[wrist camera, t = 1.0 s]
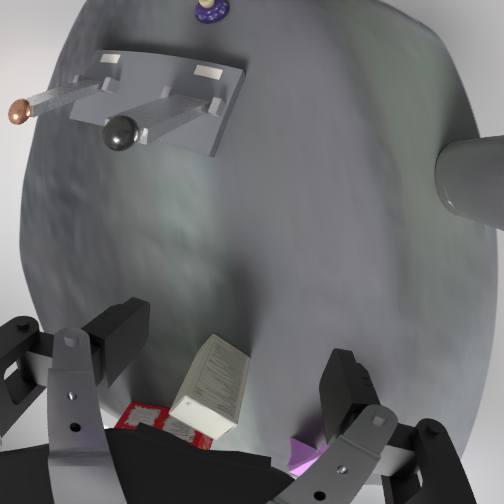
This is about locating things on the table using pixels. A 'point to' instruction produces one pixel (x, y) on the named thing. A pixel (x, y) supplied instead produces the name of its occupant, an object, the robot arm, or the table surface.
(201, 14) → the toy lamp
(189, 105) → the black knob lever
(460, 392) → the table surface
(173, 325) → the table surface
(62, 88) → the copper knob lever
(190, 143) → the switch panel
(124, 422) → the food packaging
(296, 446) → the toy chair
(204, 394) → the skincare box
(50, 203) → the table surface
